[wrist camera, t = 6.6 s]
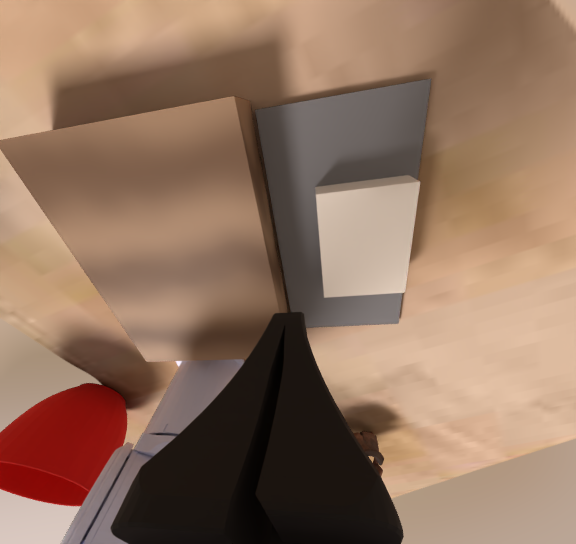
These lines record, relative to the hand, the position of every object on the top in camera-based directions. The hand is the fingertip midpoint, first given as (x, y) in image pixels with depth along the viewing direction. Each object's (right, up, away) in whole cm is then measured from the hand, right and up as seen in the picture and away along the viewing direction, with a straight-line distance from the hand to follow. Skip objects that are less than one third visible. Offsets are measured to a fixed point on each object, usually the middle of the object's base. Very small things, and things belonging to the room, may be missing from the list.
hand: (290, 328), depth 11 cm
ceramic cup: (-28, -17, +24) cm, 40 cm away
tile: (+5, +4, +5) cm, 8 cm away
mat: (+4, +5, +7) cm, 10 cm away
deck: (-8, +4, +9) cm, 13 cm away
